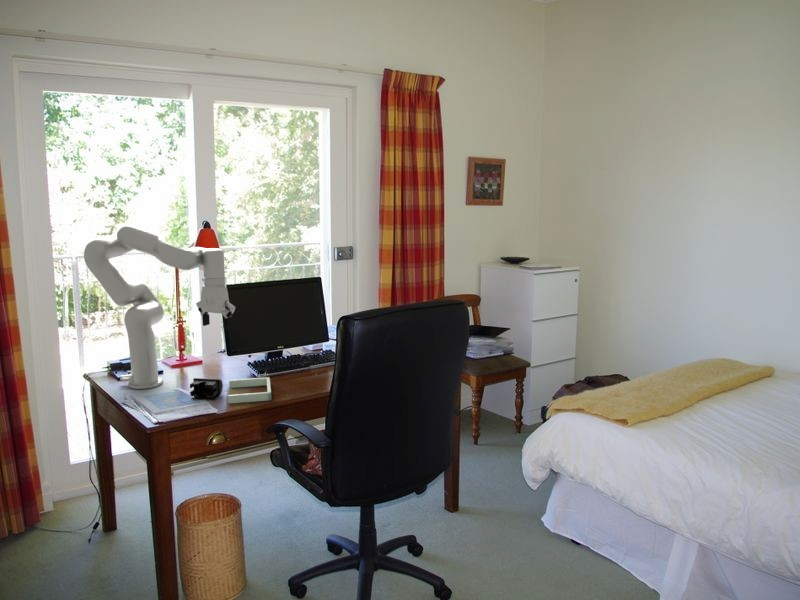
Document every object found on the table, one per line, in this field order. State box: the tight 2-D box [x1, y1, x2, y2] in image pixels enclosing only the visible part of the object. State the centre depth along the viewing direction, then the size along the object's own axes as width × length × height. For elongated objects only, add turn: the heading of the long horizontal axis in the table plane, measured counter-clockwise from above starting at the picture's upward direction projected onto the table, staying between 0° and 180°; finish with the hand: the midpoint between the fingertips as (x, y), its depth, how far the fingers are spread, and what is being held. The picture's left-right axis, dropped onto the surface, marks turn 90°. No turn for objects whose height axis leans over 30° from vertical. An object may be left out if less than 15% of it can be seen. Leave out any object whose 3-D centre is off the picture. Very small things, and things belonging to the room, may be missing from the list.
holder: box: [227, 376, 272, 404], centre depth 244 cm, size 15×18×3 cm
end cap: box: [189, 377, 224, 402], centre depth 240 cm, size 10×7×7 cm
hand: (216, 326), depth 247 cm, fingers open, 9 cm apart
